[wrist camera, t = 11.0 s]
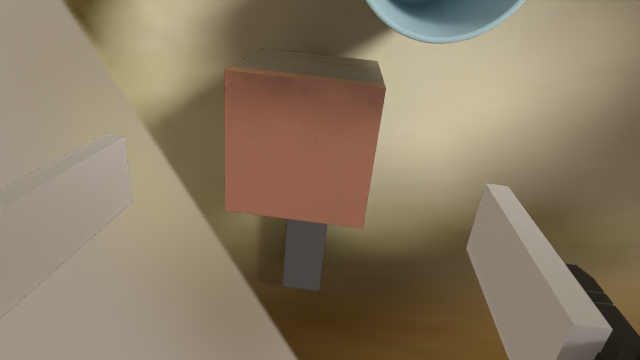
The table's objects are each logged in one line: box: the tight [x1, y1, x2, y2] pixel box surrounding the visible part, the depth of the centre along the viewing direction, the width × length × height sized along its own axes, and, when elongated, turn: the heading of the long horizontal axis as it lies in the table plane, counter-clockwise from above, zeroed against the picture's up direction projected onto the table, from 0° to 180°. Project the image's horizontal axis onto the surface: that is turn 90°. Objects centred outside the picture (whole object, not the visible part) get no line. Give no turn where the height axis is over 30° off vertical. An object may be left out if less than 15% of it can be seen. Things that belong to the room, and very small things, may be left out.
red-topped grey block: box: [224, 48, 386, 228], centre depth 22 cm, size 7×7×8 cm
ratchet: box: [283, 219, 327, 291], centre depth 28 cm, size 18×6×8 cm, turn 175°
